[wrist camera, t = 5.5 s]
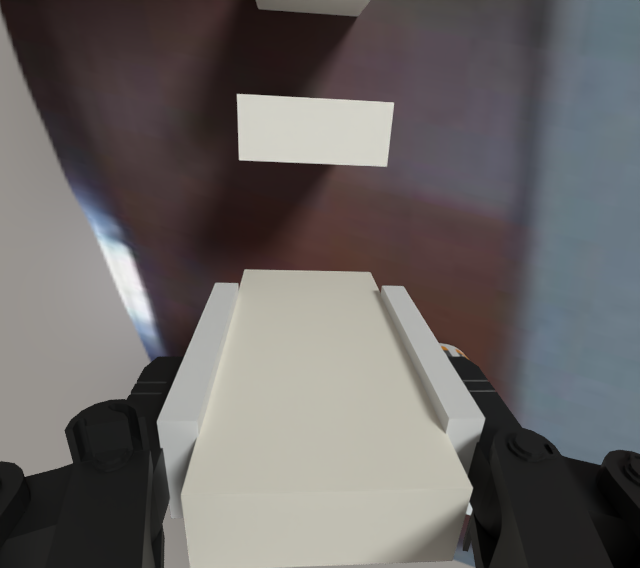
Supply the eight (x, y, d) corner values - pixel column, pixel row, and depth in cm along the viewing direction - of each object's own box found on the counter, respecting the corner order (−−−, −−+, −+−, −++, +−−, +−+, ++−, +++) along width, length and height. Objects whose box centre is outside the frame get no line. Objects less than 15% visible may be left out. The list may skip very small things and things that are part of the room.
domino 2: (259, 97, 22) (236, 94, 13) (351, 102, 22) (393, 102, 13) (259, 137, 22) (239, 160, 13) (348, 141, 23) (386, 166, 14)
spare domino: (244, 269, 16) (180, 495, 7) (370, 272, 16) (472, 488, 7) (245, 314, 17) (190, 570, 7) (365, 315, 17) (452, 560, 8)
